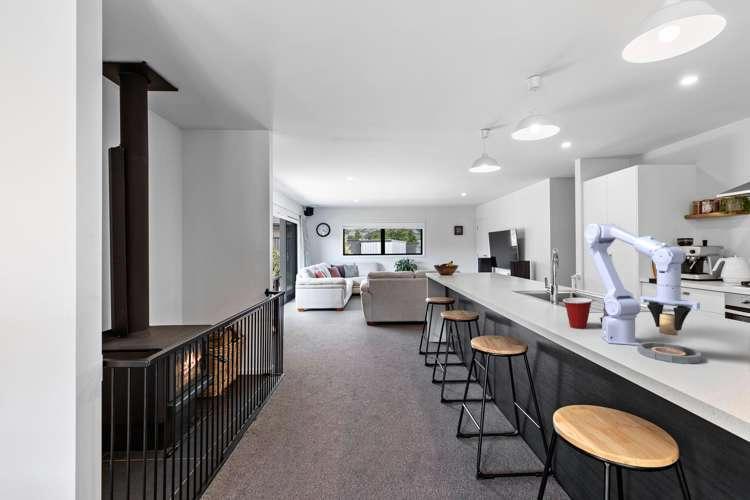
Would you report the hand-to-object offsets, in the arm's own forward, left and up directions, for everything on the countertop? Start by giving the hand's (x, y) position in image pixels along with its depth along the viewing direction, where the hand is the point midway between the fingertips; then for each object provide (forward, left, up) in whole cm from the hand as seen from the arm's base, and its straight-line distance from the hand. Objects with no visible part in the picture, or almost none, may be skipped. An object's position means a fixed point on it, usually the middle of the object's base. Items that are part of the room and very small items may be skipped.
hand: (668, 328), depth 107 cm
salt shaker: (-6, +35, -9) cm, 37 cm away
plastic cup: (-18, +32, -9) cm, 38 cm away
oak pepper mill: (0, 0, -2) cm, 2 cm away
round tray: (0, 0, -9) cm, 9 cm away
